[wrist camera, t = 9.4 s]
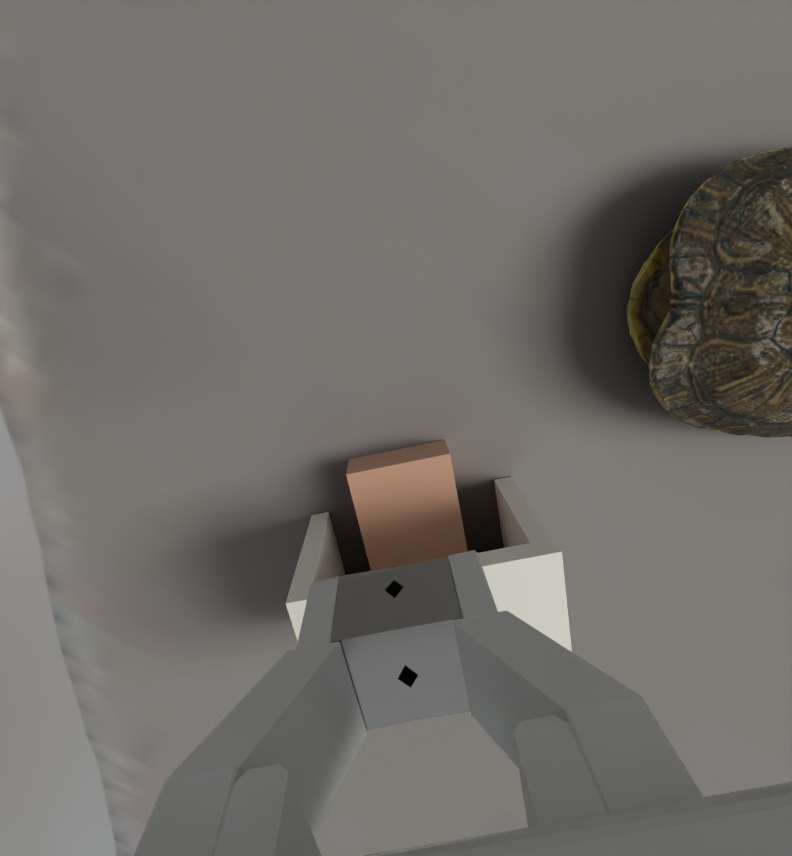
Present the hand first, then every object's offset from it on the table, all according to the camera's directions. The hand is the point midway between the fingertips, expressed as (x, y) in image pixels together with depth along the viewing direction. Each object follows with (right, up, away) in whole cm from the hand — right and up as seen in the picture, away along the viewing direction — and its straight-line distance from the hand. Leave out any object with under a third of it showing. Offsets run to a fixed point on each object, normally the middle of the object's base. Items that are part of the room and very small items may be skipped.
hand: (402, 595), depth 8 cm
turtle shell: (+23, +11, +20) cm, 33 cm away
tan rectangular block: (+1, -2, +24) cm, 24 cm away
